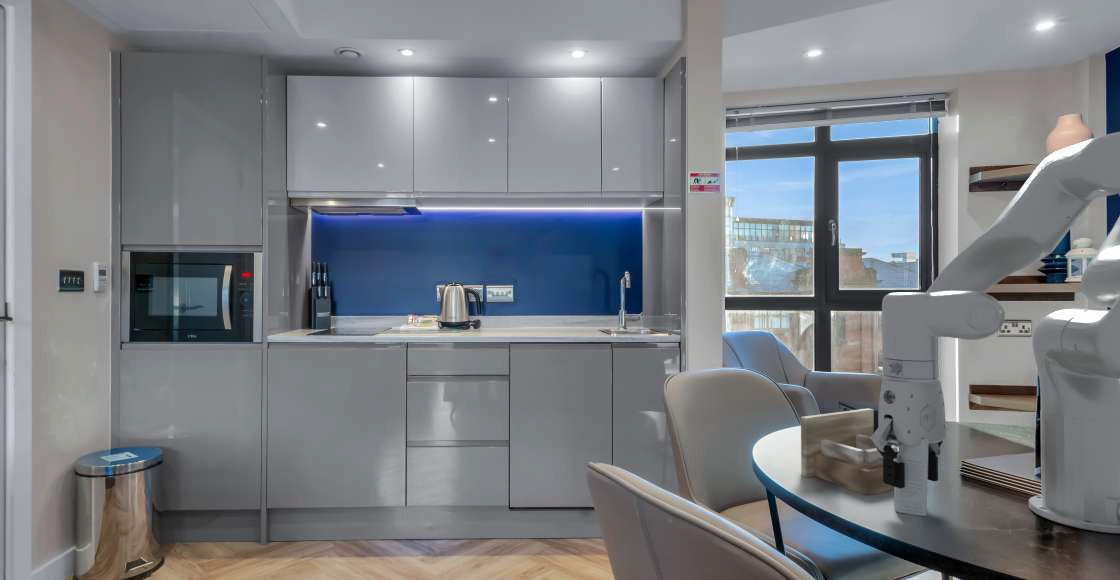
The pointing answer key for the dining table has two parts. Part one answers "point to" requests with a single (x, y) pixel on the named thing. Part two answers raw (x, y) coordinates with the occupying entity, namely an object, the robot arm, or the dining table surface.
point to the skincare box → (914, 481)
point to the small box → (860, 405)
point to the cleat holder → (843, 450)
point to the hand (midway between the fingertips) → (910, 481)
